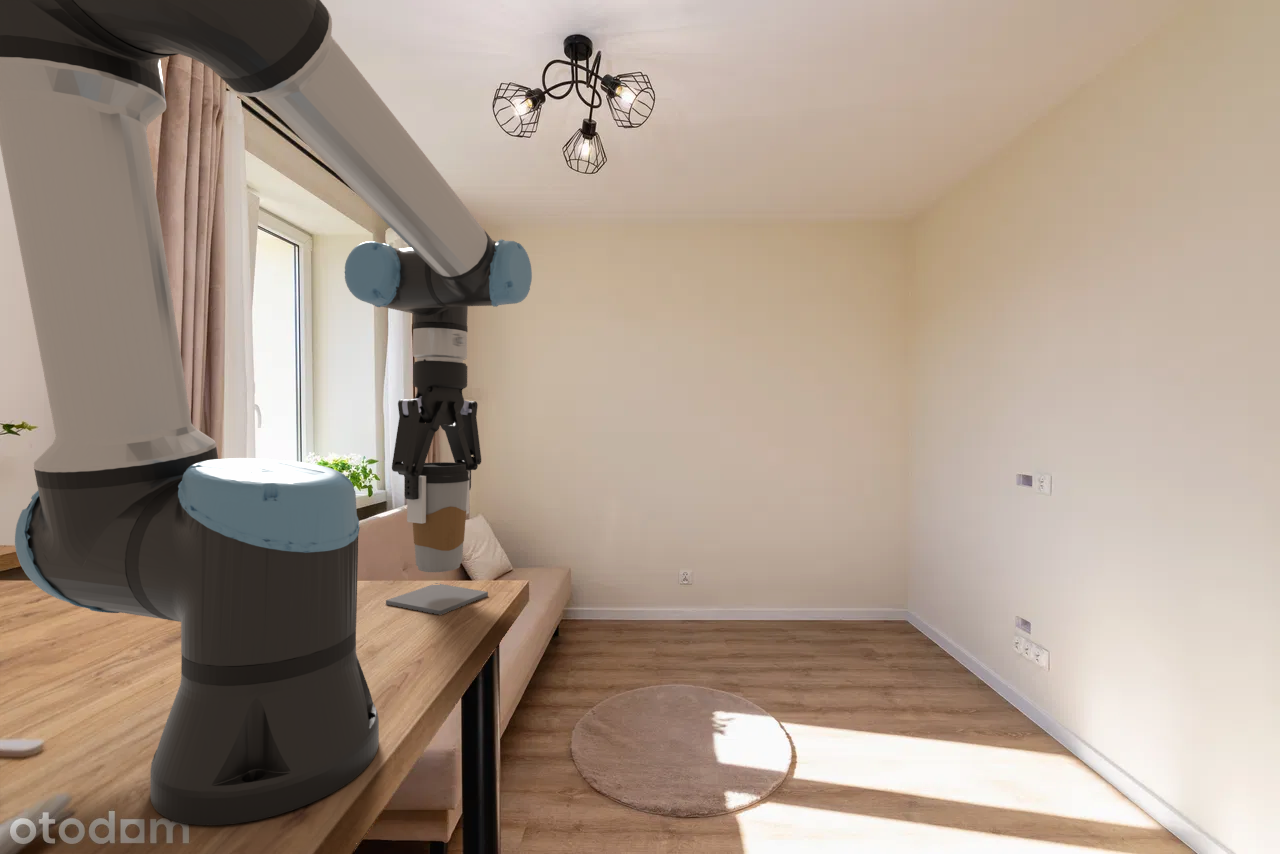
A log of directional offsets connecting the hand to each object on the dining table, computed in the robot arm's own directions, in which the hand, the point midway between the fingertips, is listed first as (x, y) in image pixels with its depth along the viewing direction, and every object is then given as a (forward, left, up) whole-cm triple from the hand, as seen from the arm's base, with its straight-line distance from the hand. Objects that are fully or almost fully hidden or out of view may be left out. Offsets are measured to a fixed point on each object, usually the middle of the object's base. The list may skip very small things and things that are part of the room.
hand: (439, 517), depth 91 cm
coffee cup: (0, 0, -8) cm, 8 cm away
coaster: (0, 0, -12) cm, 12 cm away
